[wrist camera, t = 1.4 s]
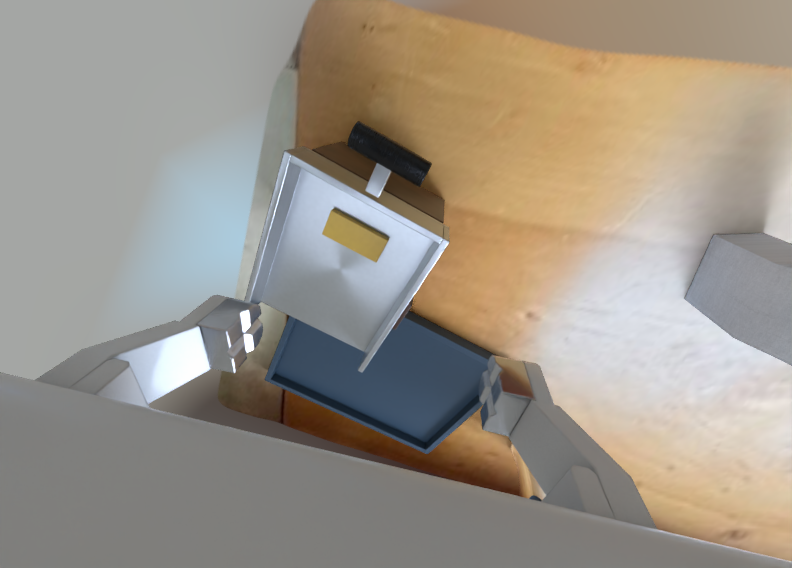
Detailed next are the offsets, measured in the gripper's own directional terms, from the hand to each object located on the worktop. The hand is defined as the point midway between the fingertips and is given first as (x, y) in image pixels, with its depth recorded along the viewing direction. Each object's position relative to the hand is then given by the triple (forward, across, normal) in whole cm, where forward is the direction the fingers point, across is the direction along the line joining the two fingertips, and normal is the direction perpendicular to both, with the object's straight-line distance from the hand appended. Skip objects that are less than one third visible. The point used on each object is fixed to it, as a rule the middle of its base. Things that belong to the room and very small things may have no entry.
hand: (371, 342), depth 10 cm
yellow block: (+14, +4, +2) cm, 14 cm away
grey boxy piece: (+21, -29, +1) cm, 36 cm away
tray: (+21, +1, +24) cm, 32 cm away
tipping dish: (+14, +5, +4) cm, 15 cm away
